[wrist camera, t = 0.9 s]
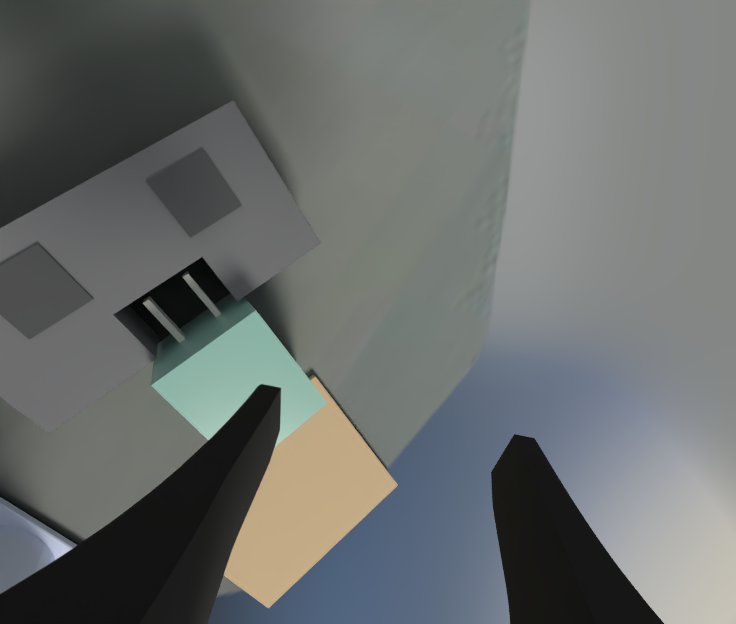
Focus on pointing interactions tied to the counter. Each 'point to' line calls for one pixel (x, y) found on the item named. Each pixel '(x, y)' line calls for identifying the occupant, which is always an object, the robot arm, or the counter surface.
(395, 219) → the counter surface
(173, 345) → the charger
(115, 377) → the power strip
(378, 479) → the cork mat
